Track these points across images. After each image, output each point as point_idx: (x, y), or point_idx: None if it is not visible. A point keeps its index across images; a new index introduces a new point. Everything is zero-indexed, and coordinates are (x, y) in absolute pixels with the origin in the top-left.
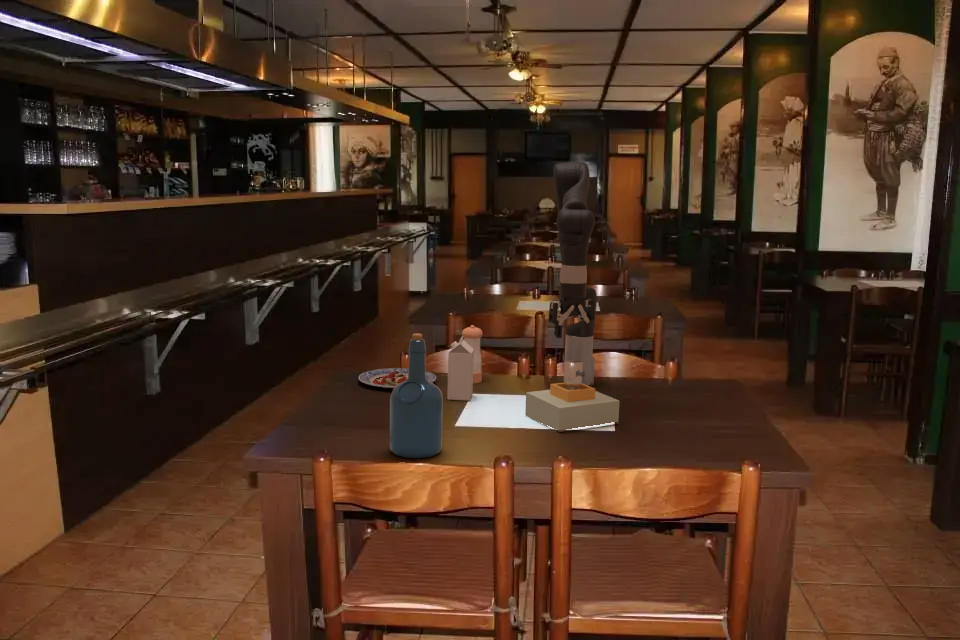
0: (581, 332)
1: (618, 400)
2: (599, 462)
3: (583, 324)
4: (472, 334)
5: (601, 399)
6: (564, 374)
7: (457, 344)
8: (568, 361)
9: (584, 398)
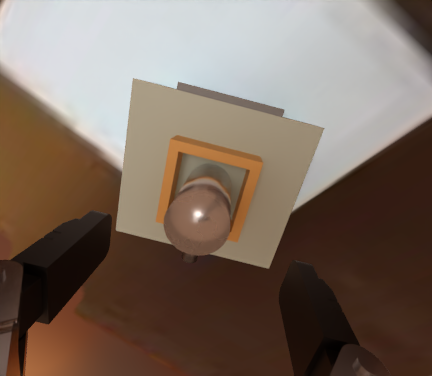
0: (293, 280)
1: (269, 266)
2: (101, 315)
3: (301, 357)
4: None
5: (245, 240)
6: (180, 189)
7: None
8: (190, 206)
9: None
